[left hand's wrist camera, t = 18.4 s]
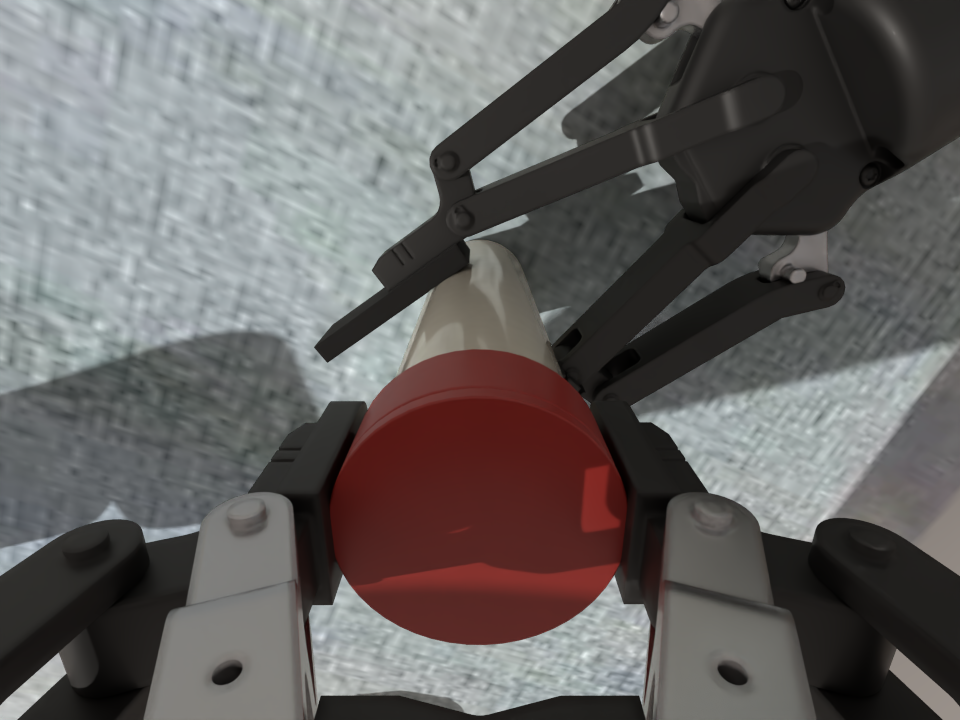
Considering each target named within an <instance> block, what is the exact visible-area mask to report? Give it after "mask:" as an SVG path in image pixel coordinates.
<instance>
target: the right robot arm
mask: <svg viewBox="0 0 960 720" xmlns="http://www.w3.org/2000/svg"><path fill="white" fill-rule="evenodd" d="M679 30H682V31H686V32H688V33H690V34H691V36H690V38H689V41H688V43H687V45H686V48H685V50H684V52H683V55H682V57H681V60H680V62H679V64H678V67H677V69H676V71H675V74H674V76H673V78H672V81H671V83H670V85H669V88H668V90H667V92H666V95H665V97H664V100H663V102H662V104H661V107H660V109H659V111H658V112H657V113H655V114H653V115H650V116H648V117H646V118H643V119H641V120H638V121H636V122H634V123H631V124H629V125H627V126H624V127H622V128H620V129H618V130H616V131H614V132H612V133H610V134H607V135H605V136H603V137H600V138H598V139H595V140H593V141H591V142H588V143H586V144H584V145H581V146H579V147H576V148H574V149H572V150H569V151H567V152H565V153H562V154H560V155H557V156H555V157H553V158H550V159H548V160H546V161H543V162H541V163H538V164H536V165H534V166H531V167H529V168H527V169H524V170H522V171H519V172H517V173H515V174H512V175H510V176H508V177H505V178H503V179H500V180H498V181H496V182H493V183H491V184H489V185H486V186H484V187H481V188H479V189H477V190H475V188H474V184H473V180H472V176H471V172H470V169H471V168H472V167H473V166H475V165H476V164H477V163H479V162H480V161H481V160H482V159H484V158H485V157H486V156H488V155H489V154H490V153H492V152H493V151H494V150H496V149H497V148H498V147H500V146H501V145H502V144H503V143H505V142H506V141H507V140H509V139H510V138H511V137H513V136H514V135H515V134H517V133H518V132H519V131H520V130H522V129H523V128H524V127H526V126H527V125H528V124H530V123H531V122H532V121H534V120H535V119H536V118H538V117H539V116H540V115H541V114H543V113H544V112H545V111H547V110H548V109H549V108H551V107H552V106H553V105H555V104H556V103H557V102H558V101H560V100H561V99H562V98H564V97H565V96H566V95H568V94H569V93H570V92H572V91H573V90H574V89H576V88H577V87H578V86H579V85H581V84H582V83H583V82H585V81H586V80H587V79H589V78H590V77H591V76H593V75H594V74H595V73H596V72H598V71H599V70H600V69H602V68H603V67H604V66H606V65H607V64H608V63H610V62H611V61H612V60H614V59H615V58H616V57H617V56H619V55H620V54H621V53H623V52H624V51H625V50H627V49H628V48H629V47H630V46H631V45H632V44H634V43H635V42H636V41H637V40H638V39H640V40H641V41H642V42H644V43H646V44H656V43H659V42H661V41H662V40H664V39H666V38H667V37H669V36H671V35H672V34H673V33H674V32H675V31H679ZM958 137H960V0H615V2H614V3H613V5H612V6H611V8H610V9H609V11H608V12H606V13H605V14H604V15H603V16H601V17H600V18H599V19H597V20H596V21H595V22H594V23H592V24H591V25H590V26H589V27H587V28H586V29H585V30H583V31H582V32H581V33H580V34H578V35H577V36H576V37H575V38H573V39H572V40H571V41H569V42H568V43H567V44H566V45H564V46H563V47H562V48H561V49H559V50H558V51H557V52H556V53H554V54H553V55H552V56H550V57H549V58H548V59H547V60H545V61H544V62H543V63H542V64H540V65H539V66H538V67H536V68H535V69H534V70H533V71H531V72H530V73H529V74H528V75H526V76H525V77H524V78H522V79H521V80H520V81H519V82H517V83H516V84H515V85H514V86H512V87H511V88H510V89H508V90H507V91H506V92H505V93H503V94H502V95H501V96H500V97H498V98H497V99H496V100H494V101H493V102H492V103H491V104H489V105H488V106H487V107H486V108H484V109H483V110H482V111H481V112H479V113H478V114H477V115H475V116H474V117H473V118H472V119H470V120H469V121H468V122H467V123H465V124H464V125H463V126H461V127H460V128H459V129H458V130H456V131H455V132H454V133H453V134H451V135H450V136H449V137H447V138H446V139H445V140H444V141H442V142H441V143H440V144H439V145H437V146H436V147H435V149H434V150H433V151H432V153H431V156H430V168H431V170H432V172H433V174H434V178H435V181H436V185H437V188H438V192H439V196H440V206H439V210H438V212H437V213H436V214H435V215H434V216H432V217H431V218H430V219H428V220H427V221H426V222H424V223H423V224H422V225H420V226H419V227H418V228H416V229H415V230H413V231H412V232H411V233H409V234H408V235H407V236H405V237H404V238H403V239H401V240H400V241H399V242H397V243H396V244H394V245H393V246H392V247H390V248H389V249H388V250H386V251H385V252H384V253H383V254H382V255H381V257H380V258H379V259H378V261H377V263H376V264H375V266H374V268H373V269H372V271H373V273H374V274H375V275H376V277H377V278H378V279H379V280H380V282H381V283H382V284H383V286H384V287H385V288H383V289H382V290H380V291H379V292H378V293H376V294H375V295H373V296H372V297H371V298H369V299H368V300H367V301H365V302H364V303H362V304H361V305H360V306H358V307H357V308H355V309H354V310H353V311H351V312H350V313H348V314H347V315H346V316H344V317H343V318H341V319H340V320H339V321H337V322H336V323H335V324H333V325H332V326H331V327H330V329H329V330H328V331H327V332H326V333H325V335H324V336H323V337H322V338H321V339H320V341H319V342H318V343H317V344H316V345H315V347H314V348H315V349H316V350H317V351H318V352H319V354H320V355H321V356H322V357H323V358H324V359H325V360H326V362H327V363H328V362H329V361H331V360H332V359H333V358H335V357H336V356H338V355H339V354H341V353H342V352H343V351H345V350H346V349H348V348H349V347H351V346H352V345H353V344H355V343H356V342H358V341H359V340H360V339H362V338H363V337H365V336H366V335H368V334H369V333H370V332H372V331H373V330H375V329H376V328H378V327H379V326H380V325H382V324H383V323H385V322H386V321H388V320H389V319H390V318H392V317H393V316H395V315H396V314H398V313H399V312H400V311H402V310H403V309H405V308H406V307H407V306H409V305H410V304H412V303H413V302H415V301H416V300H417V299H419V298H420V297H422V296H423V295H425V294H426V293H427V292H429V291H430V290H432V289H433V288H435V287H436V286H437V285H439V284H440V283H441V282H443V281H444V280H446V279H447V278H449V277H450V276H452V275H453V274H454V273H456V272H457V271H459V270H460V269H462V268H463V267H464V266H466V265H467V264H469V261H470V249H469V247H468V246H467V244H466V243H465V241H464V240H463V239H465V238H466V237H469V236H472V235H475V234H477V233H479V232H482V231H484V230H487V229H489V228H492V227H494V226H497V225H499V224H501V223H504V222H506V221H509V220H511V219H514V218H516V217H519V216H521V215H523V214H526V213H528V212H531V211H533V210H536V209H538V208H540V207H543V206H545V205H548V204H550V203H553V202H555V201H558V200H560V199H562V198H565V197H567V196H570V195H572V194H575V193H577V192H580V191H582V190H584V189H587V188H589V187H592V186H594V185H597V184H599V183H602V182H604V181H606V180H609V179H611V178H614V177H616V176H619V175H621V174H624V173H626V172H628V171H631V170H633V169H636V168H638V167H641V166H644V165H647V164H651V163H655V162H659V164H660V166H661V167H662V168H663V169H664V170H665V171H666V172H667V173H668V174H669V175H670V176H671V177H672V178H673V179H674V180H675V182H676V186H677V191H678V195H679V200H680V203H681V205H682V206H683V209H682V210H681V211H680V212H679V213H678V214H677V215H676V216H675V217H674V218H673V219H672V220H671V221H670V222H669V223H668V224H667V226H666V228H665V230H664V233H663V235H662V236H661V237H660V238H659V239H658V240H657V241H656V242H655V243H654V244H653V245H652V246H651V247H650V248H649V249H648V250H647V251H646V252H645V253H644V254H643V255H642V256H641V257H640V258H639V259H638V260H637V261H636V262H635V263H634V264H633V265H632V266H631V267H630V268H629V269H628V270H627V271H626V272H625V273H624V274H623V275H622V276H621V277H620V278H619V279H618V280H617V281H616V282H615V283H614V284H613V285H612V286H611V287H610V288H609V289H608V290H607V291H606V292H605V293H604V294H603V295H602V296H601V297H600V298H599V299H598V300H597V301H596V302H595V303H594V304H593V305H592V306H591V307H590V308H589V309H588V310H587V311H586V312H585V313H584V314H583V315H582V316H581V317H580V318H579V319H578V320H577V321H576V322H575V323H574V324H573V325H572V326H571V327H570V328H569V329H568V330H567V331H566V332H565V333H564V334H563V335H562V336H561V337H560V338H559V339H558V340H557V341H556V342H555V343H554V344H553V345H552V348H553V351H554V354H555V356H556V359H557V362H558V364H559V367H560V370H561V372H562V375H563V378H564V379H565V380H566V381H568V382H569V383H570V384H571V385H572V387H573V388H574V389H575V390H576V391H577V392H578V393H579V394H580V395H581V397H583V398H584V399H586V400H587V401H589V402H590V403H592V401H627V402H628V404H629V406H631V405H633V404H634V403H636V402H638V401H639V400H641V399H643V398H645V397H646V396H648V395H650V394H652V393H653V392H655V391H657V390H658V389H660V388H662V387H664V386H665V385H667V384H669V383H671V382H672V381H674V380H676V379H677V378H679V377H681V376H683V375H684V374H686V373H688V372H690V371H691V370H693V369H695V368H696V367H698V366H700V365H702V364H703V363H705V362H707V361H709V360H710V359H712V358H714V357H715V356H717V355H719V354H721V353H722V352H724V351H726V350H728V349H729V348H731V347H733V346H734V345H736V344H738V343H740V342H741V341H743V340H745V339H747V338H748V337H750V336H752V335H753V334H755V333H757V332H759V331H760V330H762V329H764V328H765V327H767V326H769V325H771V324H772V323H774V322H776V321H778V320H779V319H781V318H784V317H788V316H793V315H797V314H801V313H805V312H810V311H814V310H818V309H822V308H827V307H830V306H832V305H834V304H836V303H837V302H838V301H839V300H840V299H841V298H842V296H843V294H844V291H845V284H844V281H843V280H842V279H841V278H840V277H838V276H835V275H833V274H830V273H828V248H827V230H829V229H831V228H832V227H834V226H835V225H836V224H837V223H839V221H840V220H841V219H842V218H843V217H844V215H845V214H846V212H847V211H848V210H849V208H850V207H851V206H852V204H853V203H854V202H855V201H856V200H857V199H858V198H859V197H860V196H861V195H862V194H863V193H864V192H866V191H867V190H869V189H870V188H872V187H874V186H876V185H878V184H880V183H882V182H884V181H886V180H888V179H890V178H892V177H894V176H896V175H898V174H900V173H902V172H903V171H905V170H907V169H909V168H910V167H912V166H913V165H915V164H917V163H918V162H920V161H921V160H923V159H925V158H926V157H928V156H929V155H931V154H933V153H934V152H936V151H937V150H939V149H941V148H942V147H944V146H945V145H947V144H949V143H950V142H952V141H954V140H955V139H957V138H958ZM750 235H786V238H785V241H784V243H783V244H782V246H781V247H780V248H779V249H778V250H777V251H775V252H773V253H771V254H769V255H767V256H766V257H763V258H762V259H761V260H760V261H759V263H758V267H759V270H758V271H755V272H752V273H749V274H746V275H744V276H741V277H739V278H737V279H735V280H733V281H731V282H729V283H728V284H726V285H724V286H723V287H721V288H719V289H718V290H716V291H714V292H713V293H711V294H709V295H708V296H706V297H704V298H703V299H701V300H699V301H698V302H696V303H695V304H693V305H691V306H690V307H688V308H686V309H685V310H683V311H681V312H680V313H678V314H676V315H675V316H673V317H671V318H670V319H668V320H667V321H665V322H663V323H662V324H660V325H658V326H657V327H655V328H653V329H652V330H650V331H648V332H647V333H645V334H643V335H642V336H640V337H638V338H637V339H635V340H634V341H632V342H630V343H629V344H627V343H628V342H629V341H631V340H632V339H633V338H634V337H635V336H636V335H637V334H638V333H639V332H640V331H641V330H642V329H643V328H644V327H645V326H646V325H647V324H648V323H649V322H651V321H652V320H653V319H654V318H655V317H656V316H657V315H658V314H659V313H660V312H661V311H662V310H663V309H664V308H665V307H666V306H667V305H668V304H669V303H671V302H672V301H673V300H674V299H675V298H676V297H677V296H678V295H679V294H680V293H681V292H682V291H683V290H684V289H685V288H686V287H687V286H688V285H690V284H691V283H692V282H693V281H694V280H695V279H696V278H697V277H698V276H699V275H700V274H701V273H702V272H703V271H704V270H705V269H707V268H708V267H710V266H713V265H716V264H718V263H720V262H722V261H723V260H724V259H726V258H727V257H728V256H729V255H730V254H731V253H732V252H733V251H734V250H735V249H736V248H738V247H739V246H740V245H741V244H742V243H743V242H744V241H745V240H746V239H747V238H748V237H749V236H750ZM626 344H627V345H626Z"/></svg>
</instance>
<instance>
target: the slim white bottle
mask: <svg viewBox="0 0 960 720" xmlns="http://www.w3.org/2000/svg"><path fill="white" fill-rule="evenodd" d="M465 243H466V244H467V246H468V247H469V249H470V261H469V264H467V265H466V266H464V267H463V268H462V269H460V270H459V271H457V272H456V273H454V274H453V275H452V276H450V277H449V278H447V279H446V280H444V281H443V282H441V283H440V284H439V285H437V286H436V287H435V288H433V289H432V290H430V291H429V292H428V295H427V297H426V300H425V302H424V305H423V307H422V310H421V313H420V315H419V318H418V320H417V323H416V325H415V328H414V331H413V333H412V336H411V338H410V341H409V343H408V346H407V349H406V351H405V354H404V356H403V359H402V361H401V364H400V367H399V369H398V372H397V374H396V377H397V376H398V375H399V374H401V373H402V372H404V371H405V370H407V369H408V368H410V367H412V366H414V365H416V364H418V363H419V362H421V361H424V360H426V359H429V358H432V357H434V356H437V355H440V354H445V353H449V352H453V351H460V350H470V349H489V350H497V351H504V352H510V353H513V354H517V355H521V356H524V357H527V358H529V359H532V360H534V361H536V362H539V363H541V364H543V365H544V366H546V367H548V368H549V369H551V370H553V371H555V372H556V373H557V374H559V375H560V376H561V377H562V378H563V375H562V372H561V370H560V367H559V364H558V362H557V359H556V356H555V354H554V351H553V348H552V346H551V343H550V341H549V338H548V335H547V333H546V330H545V327H544V325H543V322H542V319H541V317H540V314H539V311H538V309H537V306H536V304H535V301H534V298H533V296H532V293H531V290H530V288H529V285H528V282H527V280H526V277H525V274H524V272H523V269H522V267H521V265H520V263H519V261H518V260H517V258H516V257H515V256H514V255H513V253H512V252H511V251H509V250H508V249H507V248H505V247H504V246H502V245H500V244H498V243H496V242H493V241H488V240H472V241H467V242H465Z"/></svg>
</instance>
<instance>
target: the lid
mask: <svg viewBox="0 0 960 720" xmlns="http://www.w3.org/2000/svg"><path fill="white" fill-rule="evenodd" d="M329 508H330V518H331V526H332V535H333V543H334V551H335V558H336V560H337V563H338V565H339V567H340V570H341V571H342V573H343V575H344V576H345V578H346V580H347V581H348V583H349V584H350V585H351V587H352V588H353V589H354V590H355V592H356V593H357V594H358V595H359V596H360V597H361V598H362V599H363V600H364V601H365V602H366V603H367V604H368V605H369V606H370V607H371V608H372V609H374V610H375V611H376V612H378V613H379V614H380V615H382V616H383V617H384V618H386V619H388V620H389V621H391V622H393V623H395V624H396V625H398V626H400V627H402V628H404V629H407V630H409V631H411V632H413V633H416V634H419V635H422V636H425V637H428V638H431V639H435V640H440V641H444V642H449V643H457V644H466V645H490V644H502V643H508V642H513V641H519V640H523V639H526V638H530V637H533V636H537V635H539V634H542V633H544V632H547V631H549V630H552V629H554V628H556V627H558V626H559V625H561V624H563V623H565V622H567V621H569V620H570V619H572V618H573V617H574V616H576V615H577V614H579V613H580V612H582V611H583V610H584V609H585V608H586V607H587V606H589V605H590V604H591V603H592V602H593V601H594V600H595V599H596V598H597V597H598V596H599V595H600V594H601V592H602V591H603V590H604V589H605V588H606V587H607V585H608V584H609V582H610V581H611V579H612V578H613V576H614V575H615V573H616V571H617V569H618V567H619V564H620V562H621V557H622V548H623V539H624V531H625V522H626V514H627V494H626V491H625V488H624V485H623V482H622V480H621V477H620V475H619V472H618V470H617V468H616V466H615V463H614V461H613V459H612V456H611V454H610V452H609V450H608V447H607V445H606V443H605V441H604V438H603V436H602V434H601V432H600V429H599V427H598V425H597V423H596V420H595V418H594V416H593V414H592V412H591V410H590V409H589V407H588V405H587V404H586V402H585V401H584V399H583V398H582V397H581V395H580V394H579V393H578V392H577V391H576V390H575V389H574V388H573V387H572V385H571V384H570V383H569V382H568V381H566V380H565V379H564V378H562V377H561V376H560V375H559V374H557V373H556V372H555V371H553V370H551V369H549V368H548V367H546V366H544V365H543V364H541V363H539V362H536V361H534V360H532V359H529V358H527V357H524V356H521V355H517V354H513V353H510V352H504V351H497V350H489V349H470V350H460V351H453V352H449V353H445V354H440V355H437V356H434V357H432V358H429V359H426V360H424V361H421V362H419V363H418V364H416V365H414V366H412V367H410V368H408V369H407V370H405V371H404V372H402V373H401V374H399V375H398V376H397V377H395V378H394V379H393V380H392V381H391V382H390V383H389V384H388V385H386V386H385V387H384V388H383V389H382V391H381V392H380V393H379V394H378V395H377V397H376V398H375V399H374V400H373V402H372V404H371V405H370V407H369V409H368V410H367V412H366V414H365V416H364V418H363V420H362V423H361V425H360V427H359V429H358V432H357V434H356V436H355V438H354V441H353V443H352V445H351V447H350V450H349V452H348V454H347V456H346V459H345V461H344V463H343V465H342V468H341V470H340V472H339V475H338V477H337V480H336V482H335V484H334V487H333V490H332V495H331V499H330V504H329Z"/></svg>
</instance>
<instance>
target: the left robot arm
mask: <svg viewBox="0 0 960 720" xmlns="http://www.w3.org/2000/svg"><path fill="white" fill-rule="evenodd" d="M590 410H591V412H592V414H593V416H594V418H595V420H596V423H597V425H598V427H599V429H600V432H601V434H602V436H603V438H604V441H605V443H606V445H607V447H608V450H609V452H610V454H611V456H612V459H613V461H614V463H615V466H616V468H617V470H618V472H619V475H620V477H621V480H622V482H623V485H624V488H625V491H626V494H627V514H626V522H625V531H624V539H623V548H622V557H621V562H620V564H619V567H618V569H617V571H616V573H615V578H616V581H617V584H618V587H619V591H620V594H621V597H622V600H623V603H624V604H644V606H645V608H646V611H647V614H648V617H649V619H650V627H649V634H648V645H647V656H646V667H645V678H644V689H643V700H642V704H641V701H640V697H639V696H558V697H554V698H550V699H547V700H543V701H539V702H535V703H531V704H528V705H524V706H520V707H516V708H512V709H508V710H505V711H501V712H497V713H493V714H489V715H484V716H476V715H471V714H467V713H463V712H459V711H455V710H452V709H448V708H444V707H440V706H436V705H432V704H429V703H425V702H421V701H417V700H413V699H410V698H406V697H402V696H321V697H320V701H319V704H318V700H317V689H316V678H315V667H314V656H313V645H312V634H311V627H310V620H309V612H310V610H311V607H312V605H333V602H334V599H335V596H336V593H337V590H338V587H339V584H340V581H341V578H342V575H343V573H342V571H341V570H340V567H339V565H338V563H337V560H336V558H335V551H334V543H333V535H332V526H331V518H330V508H329V504H330V499H331V495H332V490H333V487H334V484H335V482H336V480H337V477H338V475H339V472H340V470H341V468H342V465H343V463H344V461H345V459H346V456H347V454H348V452H349V450H350V447H351V445H352V443H353V441H354V438H355V436H356V434H357V432H358V429H359V427H360V425H361V423H362V420H363V418H364V416H365V414H366V412H367V405H366V403H365V402H364V401H331V402H330V403H329V404H328V406H327V408H326V409H325V411H324V413H323V414H322V416H321V417H320V419H319V421H318V422H317V423H305V424H303V425H302V426H300V427H299V428H297V429H296V430H294V431H293V432H291V433H290V434H288V436H287V437H286V438H285V440H284V441H283V443H282V444H281V446H280V447H279V451H277V452H276V453H275V454H274V456H273V457H272V459H271V462H269V463H268V465H267V466H266V468H265V469H264V470H263V472H262V473H261V475H260V476H259V478H258V479H257V481H256V482H255V483H254V485H253V486H252V488H251V489H250V491H249V492H248V494H245V495H241V496H238V497H235V498H232V499H230V500H227V501H225V502H224V503H222V504H220V505H218V506H217V507H215V508H214V509H213V510H212V511H210V512H209V513H208V514H207V515H206V517H205V518H204V519H203V521H202V523H201V526H200V531H198V532H195V533H192V534H188V535H183V536H179V537H174V538H169V539H164V540H159V541H154V542H149V543H145V539H144V536H143V532H142V529H141V527H140V526H139V525H138V524H136V523H134V522H132V521H128V520H121V519H118V520H105V521H100V522H95V523H91V524H88V525H85V526H82V527H79V528H76V529H74V530H72V531H69V532H67V533H65V534H63V535H61V536H59V537H58V538H56V539H55V540H53V541H51V542H50V543H48V544H47V545H45V546H44V547H42V548H41V549H40V550H38V551H37V552H35V553H34V554H32V555H31V556H29V557H28V558H26V559H25V560H23V561H22V562H20V563H19V564H17V565H16V566H14V567H13V568H12V569H10V570H9V571H7V572H6V573H4V574H3V575H1V576H0V705H1V704H2V703H3V702H4V701H5V700H6V699H7V698H8V697H9V696H10V695H11V694H12V693H13V692H14V691H16V690H17V689H18V688H19V687H20V686H21V685H22V684H24V683H25V682H26V681H27V680H28V679H29V678H30V677H31V676H33V675H34V674H35V673H36V672H37V671H38V670H39V669H40V668H42V667H43V666H44V665H45V664H46V663H47V662H48V661H49V660H51V659H52V658H53V657H54V656H55V655H56V654H57V653H59V654H60V657H61V660H62V662H63V665H64V668H65V670H66V673H67V674H66V675H65V676H63V677H62V678H61V679H60V680H59V681H58V682H57V683H56V684H55V685H54V686H53V687H52V688H51V689H50V690H49V691H47V692H46V693H45V694H44V695H43V696H42V697H41V698H40V699H39V700H38V701H37V702H36V703H35V704H34V705H33V706H31V707H30V708H29V709H28V710H27V711H26V712H25V713H24V714H23V715H22V716H21V717H20V718H19V719H18V720H942V719H941V718H940V717H939V716H938V715H937V714H936V713H935V712H934V711H933V710H932V709H931V708H929V707H928V706H927V705H926V704H925V703H924V702H923V701H922V700H921V699H920V698H919V697H918V696H917V695H916V694H915V693H913V692H912V691H911V690H910V689H909V688H908V687H907V686H906V685H905V684H904V683H903V682H902V681H901V680H900V679H899V678H898V677H896V676H895V675H894V674H893V673H892V672H891V671H890V670H889V668H890V665H891V662H892V660H893V657H894V654H895V652H896V649H898V650H899V651H900V652H902V653H903V654H904V655H905V656H906V657H907V658H908V659H909V660H910V661H912V662H913V663H914V664H915V665H916V666H917V667H918V668H920V669H921V670H922V671H923V672H924V673H925V674H926V675H927V676H929V677H930V678H931V679H932V680H933V681H934V682H935V683H937V684H938V685H939V686H940V687H941V688H942V689H943V690H944V691H946V692H947V693H948V694H949V695H950V696H951V697H952V698H953V699H954V700H955V701H956V702H957V704H958V705H959V706H960V576H959V575H957V574H956V573H954V572H953V571H951V570H950V569H948V568H947V567H946V566H944V565H943V564H941V563H940V562H938V561H937V560H935V559H934V558H932V557H931V556H929V555H928V554H926V553H925V552H923V551H922V550H920V549H919V548H918V547H916V546H915V545H913V544H912V543H910V542H909V541H907V540H906V539H904V538H902V537H901V536H899V535H897V534H896V533H894V532H892V531H890V530H887V529H885V528H883V527H880V526H878V525H875V524H872V523H868V522H865V521H861V520H856V519H848V518H833V519H828V520H825V521H823V522H821V523H820V524H819V525H818V526H817V528H816V530H815V534H814V538H813V541H812V543H811V542H806V541H801V540H796V539H791V538H786V537H781V536H776V535H772V534H768V533H763V532H761V531H760V526H759V523H758V521H757V519H756V518H755V517H754V515H753V514H752V513H751V512H750V511H748V510H747V509H746V508H745V507H743V506H742V505H740V504H738V503H736V502H735V501H733V500H730V499H728V498H725V497H722V496H719V495H715V494H711V493H708V491H707V490H706V488H705V487H704V485H703V484H702V482H701V481H700V479H699V478H698V477H697V475H696V474H695V472H694V471H693V469H692V468H691V466H690V465H689V463H688V462H687V461H685V457H684V456H683V454H682V453H681V452H680V450H678V447H677V446H676V444H675V443H674V441H673V440H672V438H671V437H670V435H669V434H668V433H666V432H665V431H663V430H662V429H660V428H659V427H657V426H656V425H654V424H653V423H651V422H639V421H638V419H637V417H636V416H635V414H634V412H633V411H632V409H631V407H630V406H629V404H628V402H627V401H592V403H591V406H590Z"/></svg>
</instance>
